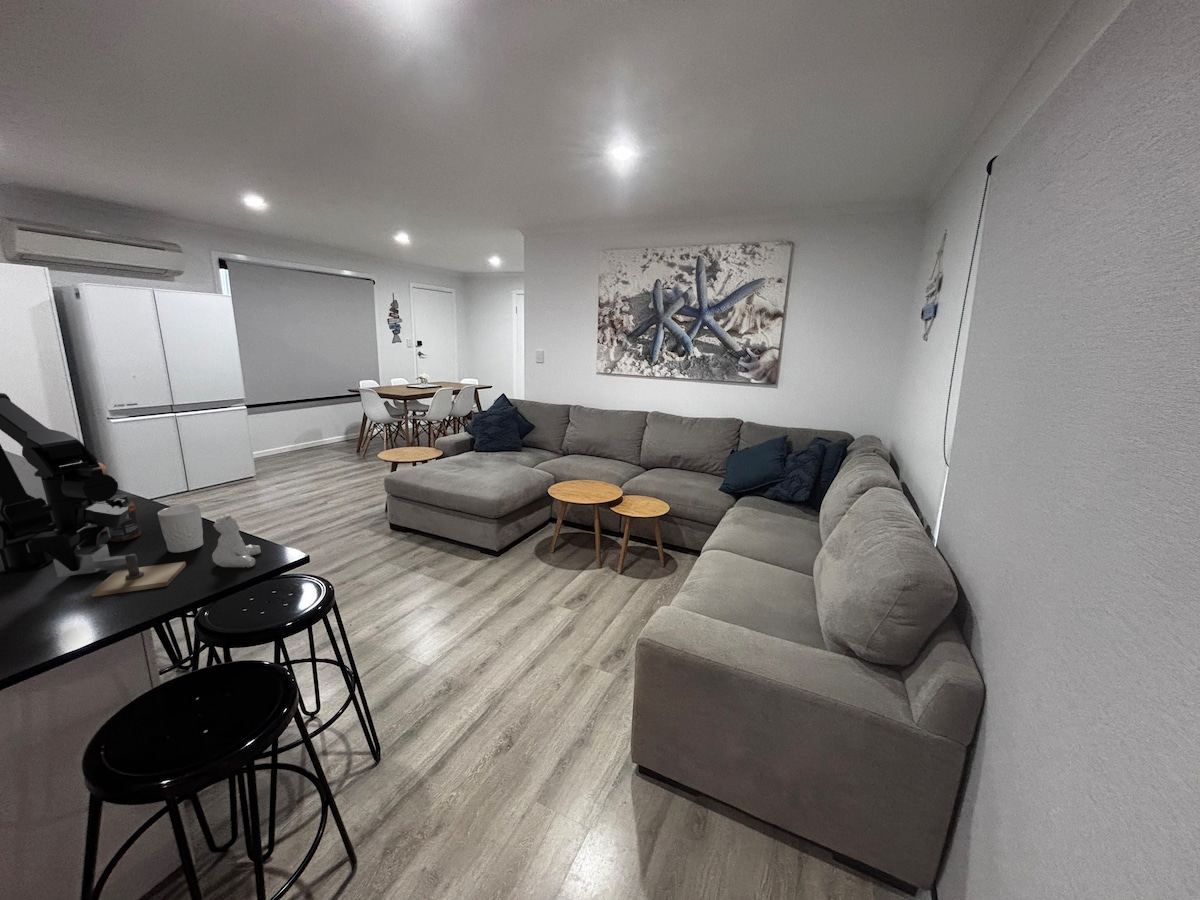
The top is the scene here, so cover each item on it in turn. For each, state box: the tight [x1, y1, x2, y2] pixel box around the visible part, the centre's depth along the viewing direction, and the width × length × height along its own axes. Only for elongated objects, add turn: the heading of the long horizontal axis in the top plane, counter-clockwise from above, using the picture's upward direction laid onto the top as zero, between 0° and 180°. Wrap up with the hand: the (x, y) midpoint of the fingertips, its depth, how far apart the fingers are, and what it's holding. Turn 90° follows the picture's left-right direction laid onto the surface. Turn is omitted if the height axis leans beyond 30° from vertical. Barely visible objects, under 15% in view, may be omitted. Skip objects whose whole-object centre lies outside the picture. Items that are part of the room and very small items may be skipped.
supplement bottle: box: [106, 494, 142, 543], centre depth 120 cm, size 6×6×11 cm
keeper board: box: [90, 553, 187, 598], centre depth 100 cm, size 12×10×6 cm
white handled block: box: [52, 543, 138, 578], centre depth 103 cm, size 12×6×4 cm, turn 114°
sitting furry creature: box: [211, 513, 261, 568], centre depth 108 cm, size 10×9×12 cm
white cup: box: [156, 504, 204, 553], centre depth 116 cm, size 8×8×10 cm
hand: (84, 564), depth 102 cm, fingers closed on white handled block, 6 cm apart
